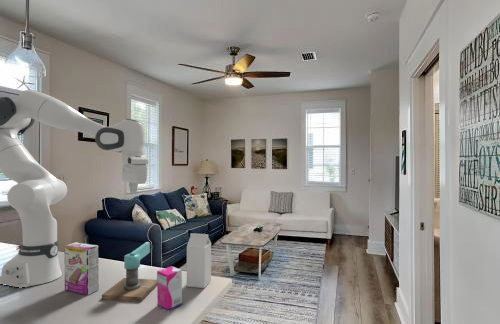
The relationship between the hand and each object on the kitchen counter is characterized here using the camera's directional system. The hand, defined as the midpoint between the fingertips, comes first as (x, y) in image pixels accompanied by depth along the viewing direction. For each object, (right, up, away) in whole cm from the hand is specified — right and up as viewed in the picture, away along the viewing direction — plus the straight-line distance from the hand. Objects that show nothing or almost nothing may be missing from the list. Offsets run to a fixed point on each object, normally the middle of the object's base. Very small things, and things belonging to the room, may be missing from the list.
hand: (133, 193), depth 120 cm
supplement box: (+21, -34, -24) cm, 47 cm away
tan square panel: (+5, -33, -14) cm, 37 cm away
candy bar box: (-13, -34, -14) cm, 39 cm away
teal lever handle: (+6, -25, -9) cm, 27 cm away
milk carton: (+28, -34, -8) cm, 44 cm away
